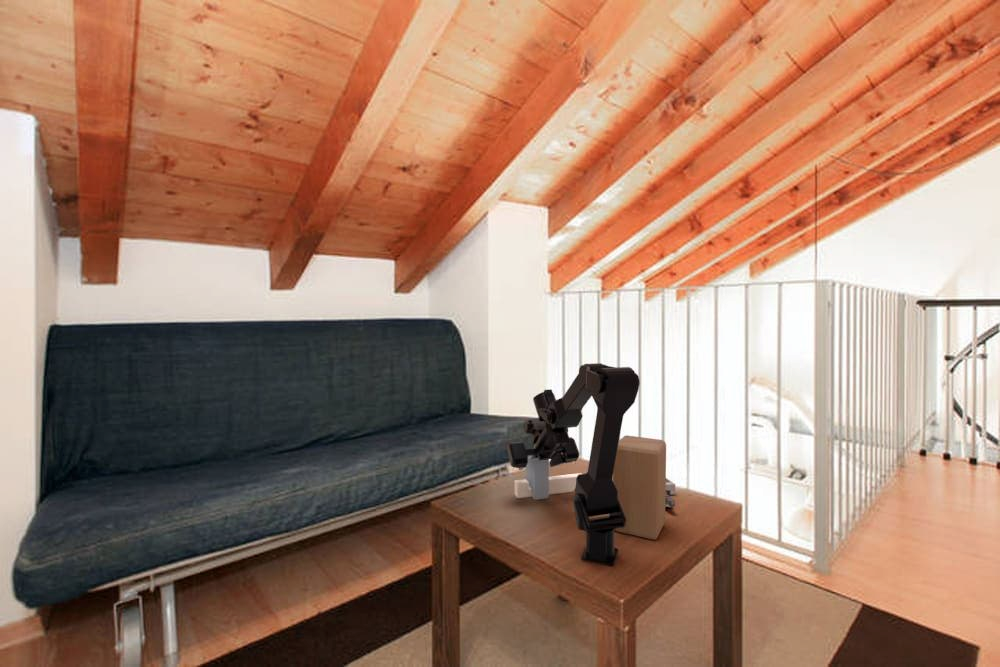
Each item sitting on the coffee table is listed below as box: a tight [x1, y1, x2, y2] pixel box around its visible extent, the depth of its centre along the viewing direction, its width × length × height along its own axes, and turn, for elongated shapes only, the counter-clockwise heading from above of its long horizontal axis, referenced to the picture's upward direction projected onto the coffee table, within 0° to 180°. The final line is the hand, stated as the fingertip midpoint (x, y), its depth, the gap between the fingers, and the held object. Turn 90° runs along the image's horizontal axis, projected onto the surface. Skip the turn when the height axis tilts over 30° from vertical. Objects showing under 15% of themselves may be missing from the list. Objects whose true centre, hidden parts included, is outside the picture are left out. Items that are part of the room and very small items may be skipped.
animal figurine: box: [665, 492, 676, 509], centre depth 118 cm, size 12×4×5 cm, turn 4°
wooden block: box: [612, 435, 667, 540], centre depth 105 cm, size 10×10×20 cm
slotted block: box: [525, 458, 550, 501], centre depth 125 cm, size 7×4×10 cm, turn 18°
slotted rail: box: [514, 472, 583, 499], centre depth 127 cm, size 2×20×4 cm, turn 107°
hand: (534, 467), depth 127 cm, fingers open, 9 cm apart
